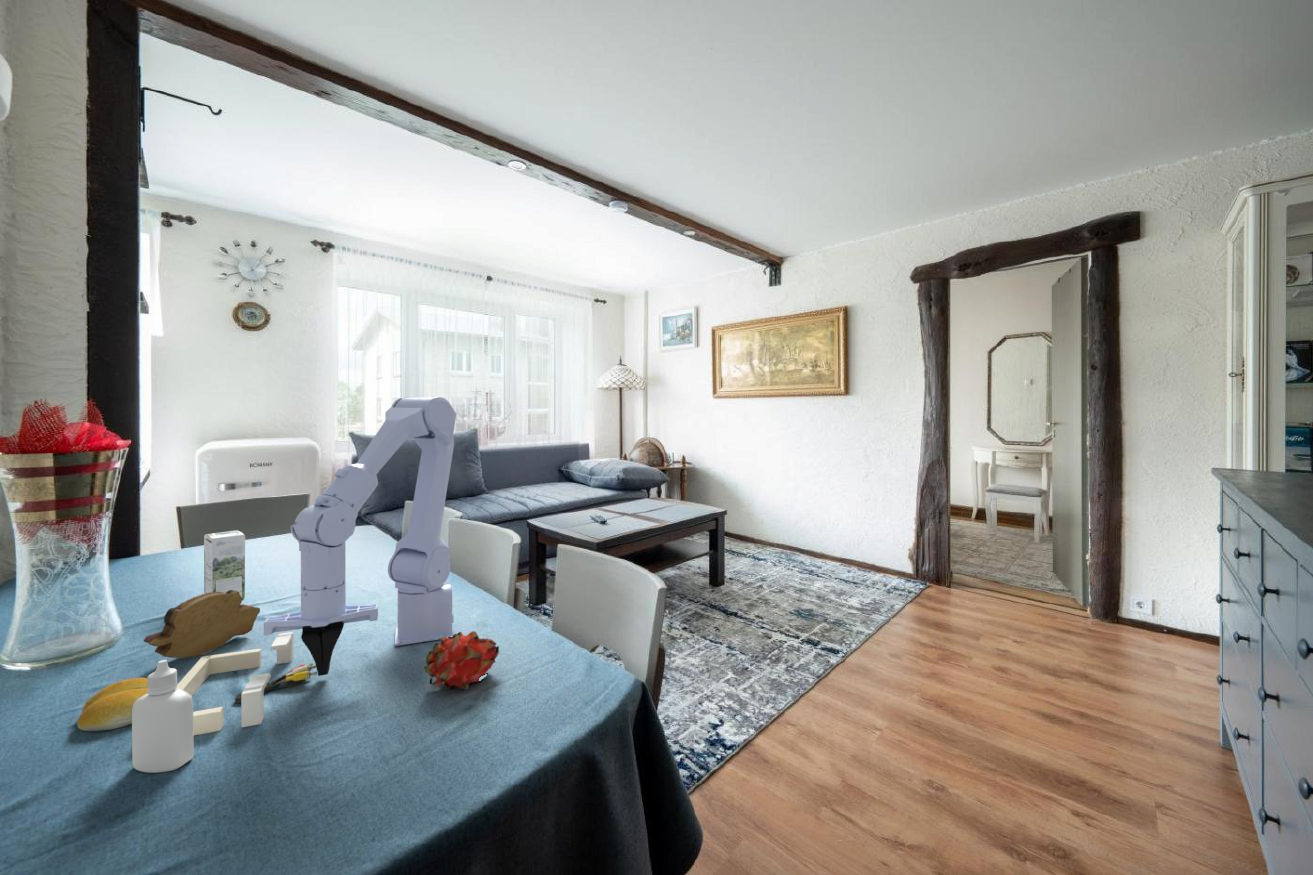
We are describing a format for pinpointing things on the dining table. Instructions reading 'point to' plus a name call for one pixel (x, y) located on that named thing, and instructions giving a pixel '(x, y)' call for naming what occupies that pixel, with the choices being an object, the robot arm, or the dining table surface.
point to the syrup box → (224, 562)
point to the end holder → (211, 665)
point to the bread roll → (112, 705)
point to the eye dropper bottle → (162, 724)
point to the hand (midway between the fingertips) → (323, 672)
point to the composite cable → (287, 679)
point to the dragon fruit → (460, 660)
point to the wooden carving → (203, 624)
